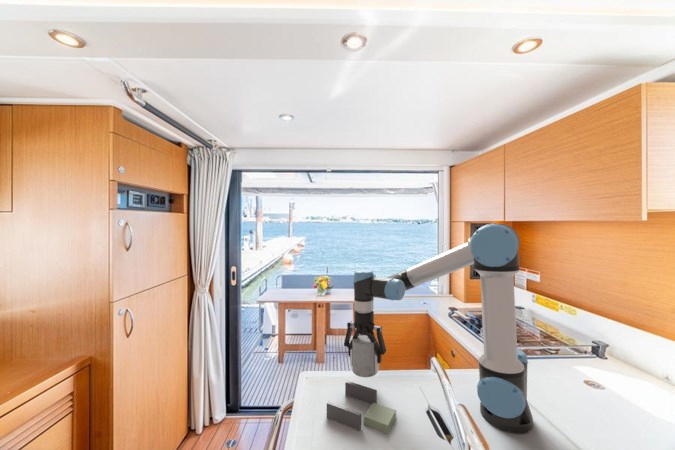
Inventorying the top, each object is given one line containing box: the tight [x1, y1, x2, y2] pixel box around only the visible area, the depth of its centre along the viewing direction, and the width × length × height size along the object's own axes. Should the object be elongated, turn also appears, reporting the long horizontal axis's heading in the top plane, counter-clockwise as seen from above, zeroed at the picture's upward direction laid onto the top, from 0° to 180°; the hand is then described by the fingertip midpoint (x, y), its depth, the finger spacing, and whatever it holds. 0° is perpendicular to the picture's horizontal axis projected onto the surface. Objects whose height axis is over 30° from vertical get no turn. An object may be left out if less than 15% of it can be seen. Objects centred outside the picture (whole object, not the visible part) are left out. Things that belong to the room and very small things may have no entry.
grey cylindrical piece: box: [351, 334, 378, 378], centre depth 110 cm, size 10×10×12 cm
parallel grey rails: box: [326, 380, 378, 432], centre depth 98 cm, size 12×15×5 cm
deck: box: [363, 402, 397, 434], centre depth 93 cm, size 8×8×2 cm
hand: (364, 367), depth 110 cm, fingers closed on grey cylindrical piece, 9 cm apart
